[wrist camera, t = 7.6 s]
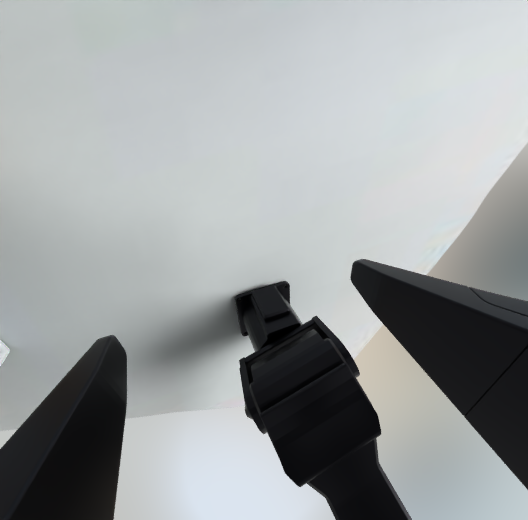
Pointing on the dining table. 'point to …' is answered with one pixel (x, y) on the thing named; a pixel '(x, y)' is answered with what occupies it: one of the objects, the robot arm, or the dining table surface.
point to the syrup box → (3, 352)
